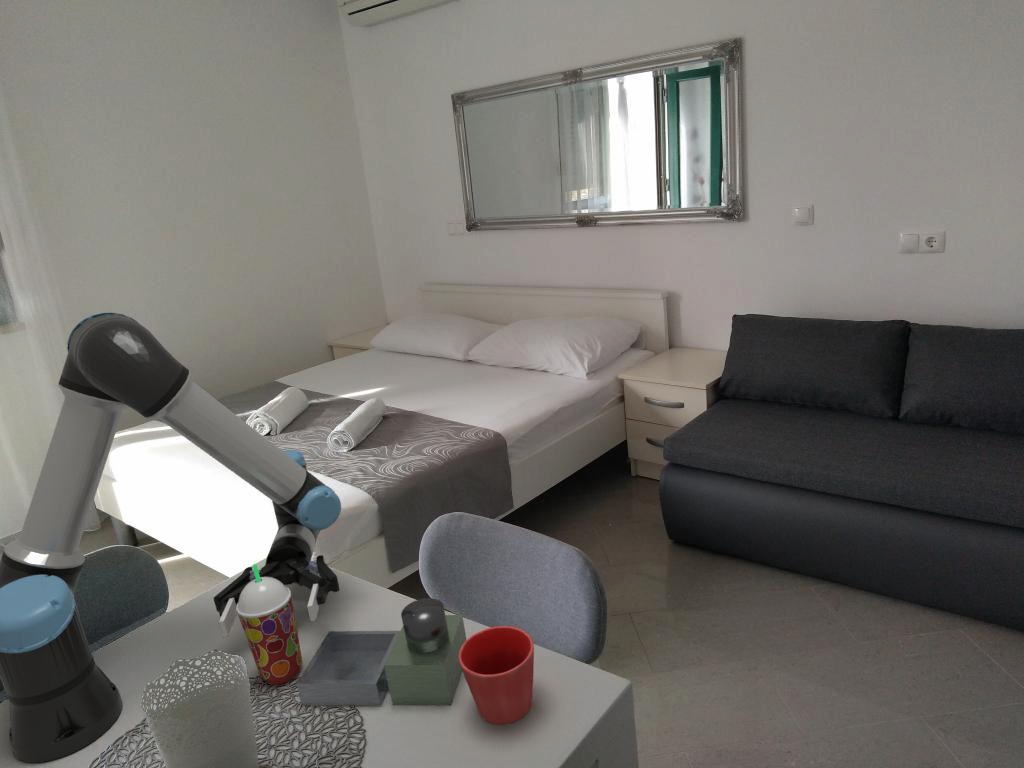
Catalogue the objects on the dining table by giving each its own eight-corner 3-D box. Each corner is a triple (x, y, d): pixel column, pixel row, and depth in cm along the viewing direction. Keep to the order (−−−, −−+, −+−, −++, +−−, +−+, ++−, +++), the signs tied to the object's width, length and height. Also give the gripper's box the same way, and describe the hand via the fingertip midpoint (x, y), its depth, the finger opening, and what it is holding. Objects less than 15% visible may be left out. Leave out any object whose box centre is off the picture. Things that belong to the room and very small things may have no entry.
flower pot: (453, 723, 107) (443, 665, 104) (491, 673, 116) (482, 619, 113) (520, 742, 102) (511, 682, 99) (554, 689, 111) (546, 632, 108)
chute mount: (302, 705, 115) (285, 638, 111) (333, 651, 126) (319, 589, 123) (450, 706, 110) (437, 636, 107) (469, 651, 122) (457, 586, 118)
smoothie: (276, 654, 128) (249, 549, 122) (318, 659, 125) (292, 552, 119) (245, 687, 120) (214, 577, 115) (289, 694, 118) (259, 582, 112)
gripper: (363, 560, 140) (352, 627, 120) (226, 583, 138) (192, 655, 118) (355, 523, 138) (343, 586, 118) (216, 546, 136) (180, 614, 116)
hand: (267, 621), depth 118 cm, fingers open, 13 cm apart
